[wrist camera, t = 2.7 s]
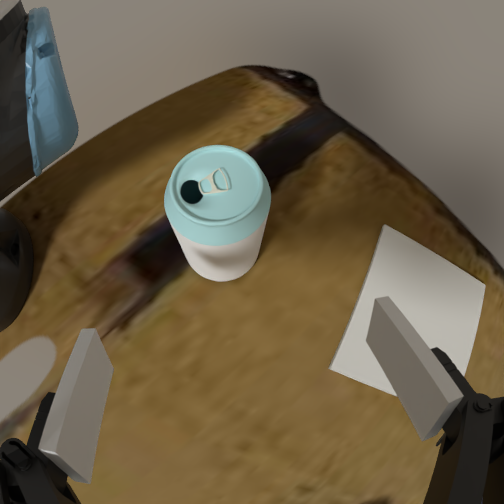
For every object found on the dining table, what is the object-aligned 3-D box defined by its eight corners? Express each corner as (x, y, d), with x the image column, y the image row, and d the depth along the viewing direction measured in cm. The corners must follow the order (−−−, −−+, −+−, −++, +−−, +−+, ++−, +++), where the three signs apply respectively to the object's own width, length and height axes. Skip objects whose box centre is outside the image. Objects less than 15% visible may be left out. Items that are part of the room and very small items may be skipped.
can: (233, 297, 28) (232, 258, 17) (171, 257, 29) (136, 197, 18) (272, 236, 30) (294, 168, 19) (212, 201, 31) (203, 122, 20)
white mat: (328, 368, 27) (330, 368, 26) (382, 226, 31) (384, 224, 31) (447, 414, 25) (450, 414, 24) (482, 286, 30) (485, 285, 29)
